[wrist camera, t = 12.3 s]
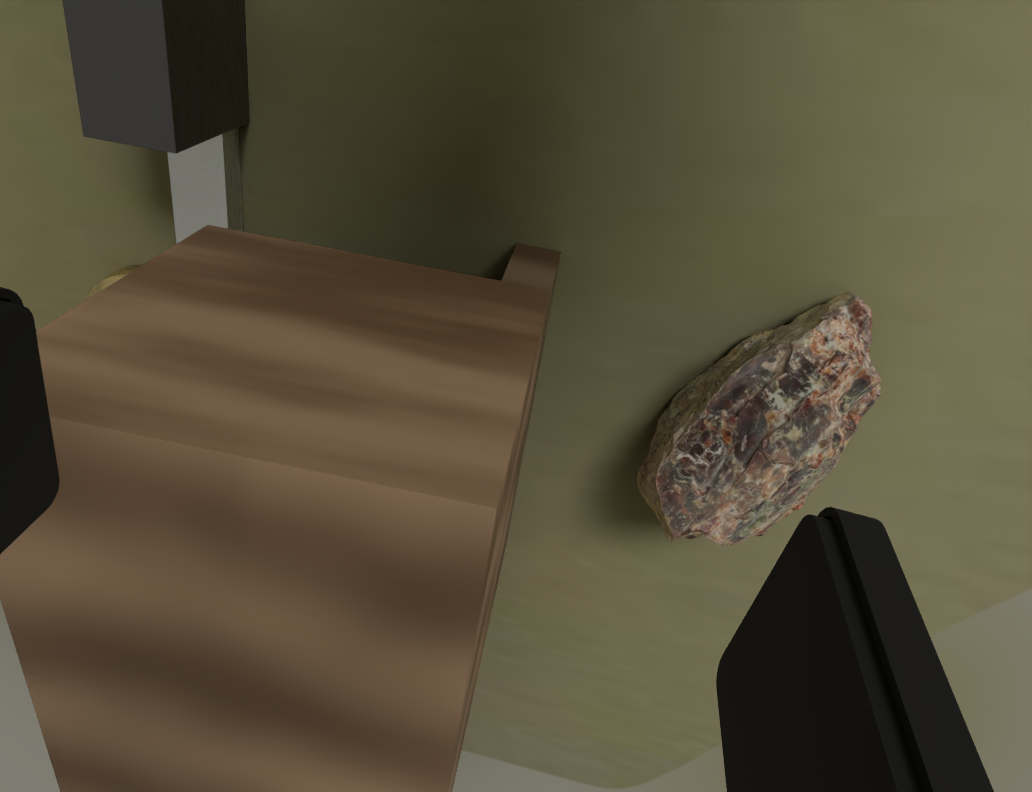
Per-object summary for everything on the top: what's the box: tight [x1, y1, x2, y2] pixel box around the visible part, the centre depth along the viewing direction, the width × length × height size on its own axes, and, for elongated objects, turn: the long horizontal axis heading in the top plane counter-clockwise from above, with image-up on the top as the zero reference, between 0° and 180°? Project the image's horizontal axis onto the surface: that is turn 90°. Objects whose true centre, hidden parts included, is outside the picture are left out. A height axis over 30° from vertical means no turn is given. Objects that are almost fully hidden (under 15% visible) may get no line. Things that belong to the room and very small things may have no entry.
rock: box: [636, 292, 881, 545], centre depth 32 cm, size 7×11×10 cm
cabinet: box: [0, 225, 561, 792], centre depth 30 cm, size 18×14×18 cm
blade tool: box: [62, 0, 250, 244], centre depth 32 cm, size 20×4×6 cm, turn 172°
